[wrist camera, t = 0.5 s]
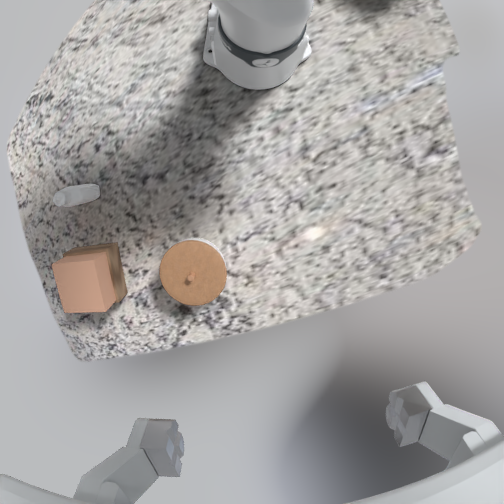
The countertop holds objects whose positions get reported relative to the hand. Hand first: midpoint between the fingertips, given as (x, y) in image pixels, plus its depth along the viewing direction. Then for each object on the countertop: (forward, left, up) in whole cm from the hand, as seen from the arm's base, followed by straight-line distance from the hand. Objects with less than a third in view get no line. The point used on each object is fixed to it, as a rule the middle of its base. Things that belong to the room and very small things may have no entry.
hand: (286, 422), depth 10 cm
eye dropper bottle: (-9, -30, -46) cm, 55 cm away
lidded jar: (+6, -10, -46) cm, 47 cm away
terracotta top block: (+6, -30, -41) cm, 51 cm away
